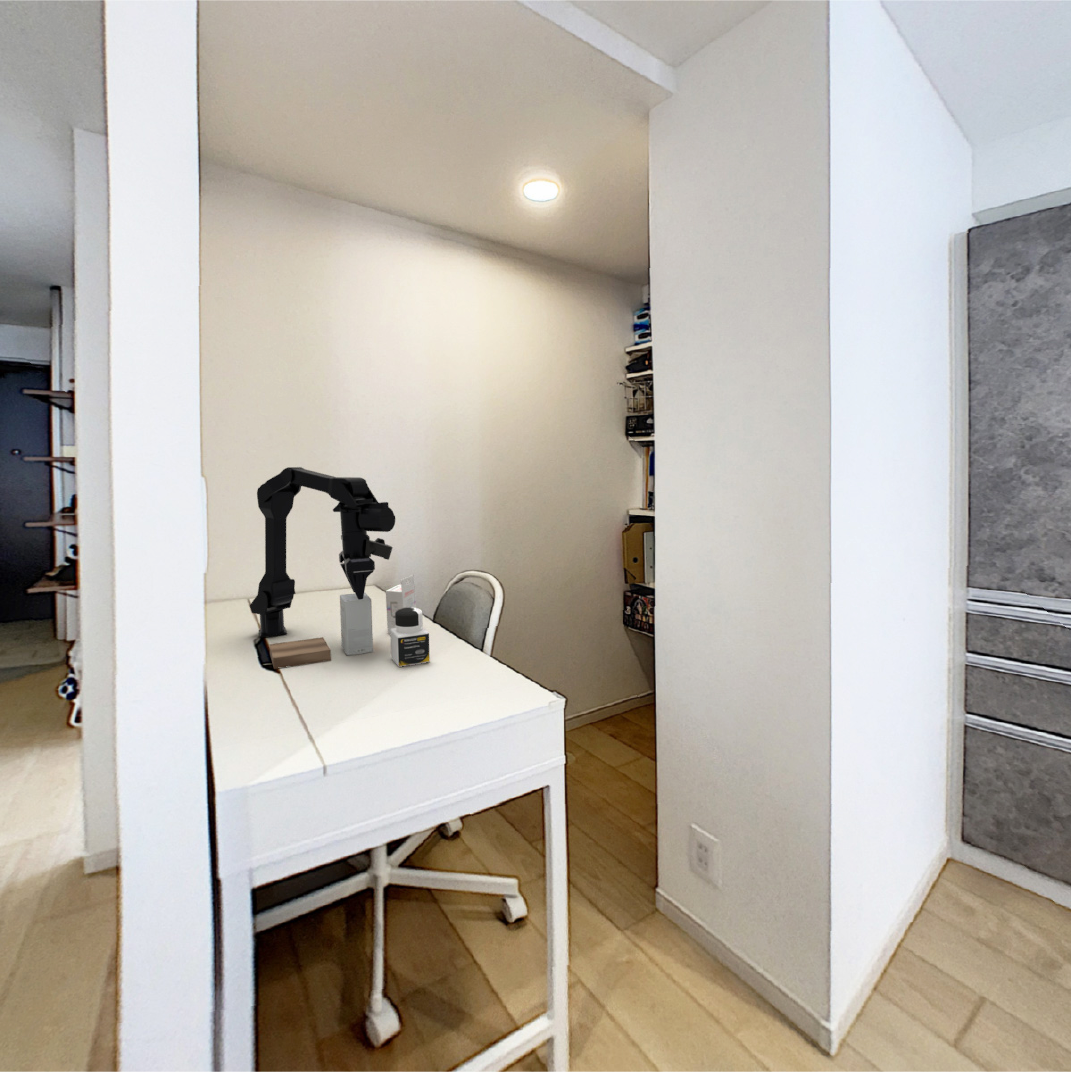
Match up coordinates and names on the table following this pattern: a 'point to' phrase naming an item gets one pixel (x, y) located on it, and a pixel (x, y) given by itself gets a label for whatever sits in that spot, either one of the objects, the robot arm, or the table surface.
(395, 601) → the ink cartridge box
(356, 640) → the small box
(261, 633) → the robot arm
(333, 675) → the table surface
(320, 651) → the brown wooden slab
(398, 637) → the medicine bottle
